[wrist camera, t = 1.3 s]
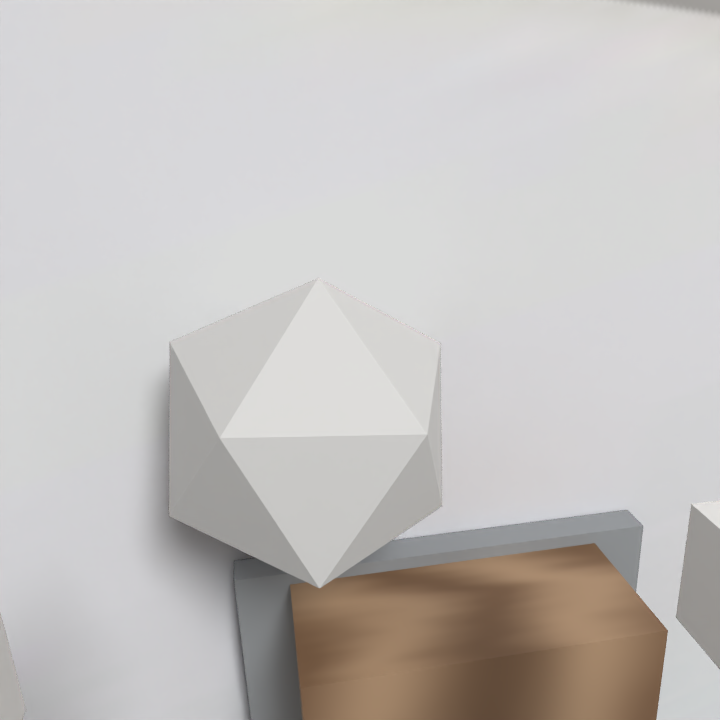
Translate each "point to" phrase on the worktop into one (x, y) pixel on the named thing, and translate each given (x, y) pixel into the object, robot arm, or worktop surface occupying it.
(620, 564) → the base plate
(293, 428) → the die
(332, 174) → the worktop surface
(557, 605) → the walnut brick
